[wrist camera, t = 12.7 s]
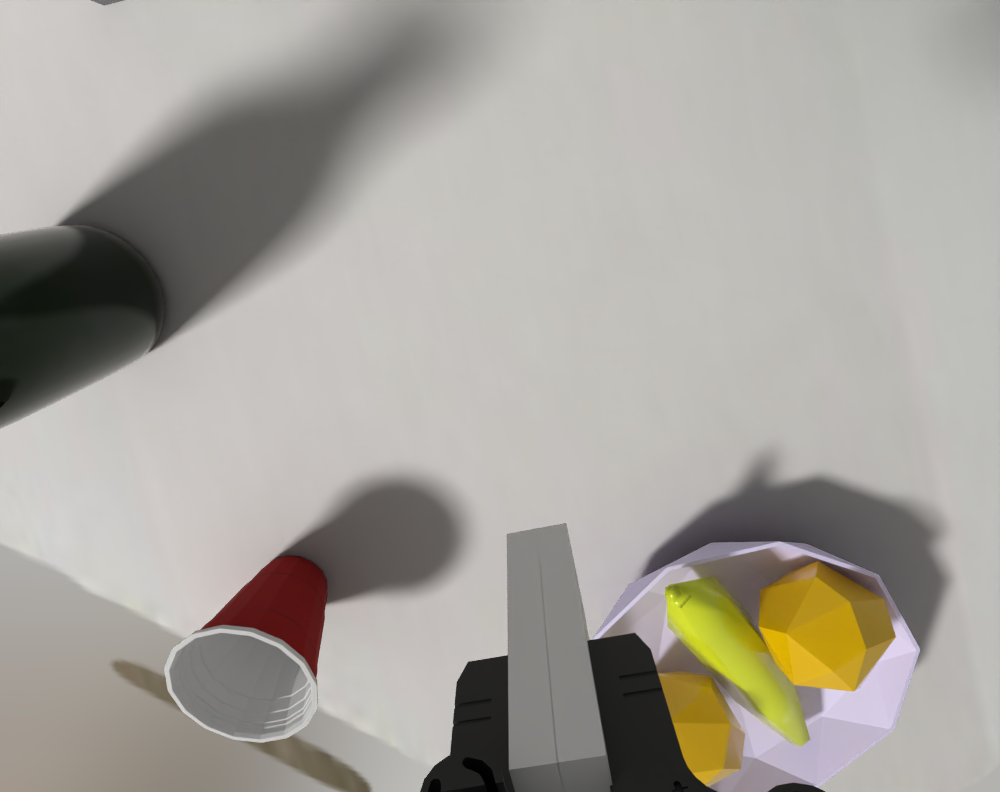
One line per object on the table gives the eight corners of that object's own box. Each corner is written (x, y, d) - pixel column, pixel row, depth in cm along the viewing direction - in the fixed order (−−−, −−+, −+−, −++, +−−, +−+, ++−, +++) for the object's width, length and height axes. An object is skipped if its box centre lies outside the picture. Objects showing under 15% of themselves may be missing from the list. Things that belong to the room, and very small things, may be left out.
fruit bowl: (890, 710, 60) (973, 829, 49) (607, 767, 62) (629, 892, 52) (864, 450, 50) (960, 526, 40) (534, 530, 53) (542, 621, 42)
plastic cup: (207, 592, 55) (131, 701, 44) (273, 507, 52) (209, 601, 41) (311, 654, 58) (264, 774, 46) (380, 577, 55) (348, 684, 43)
